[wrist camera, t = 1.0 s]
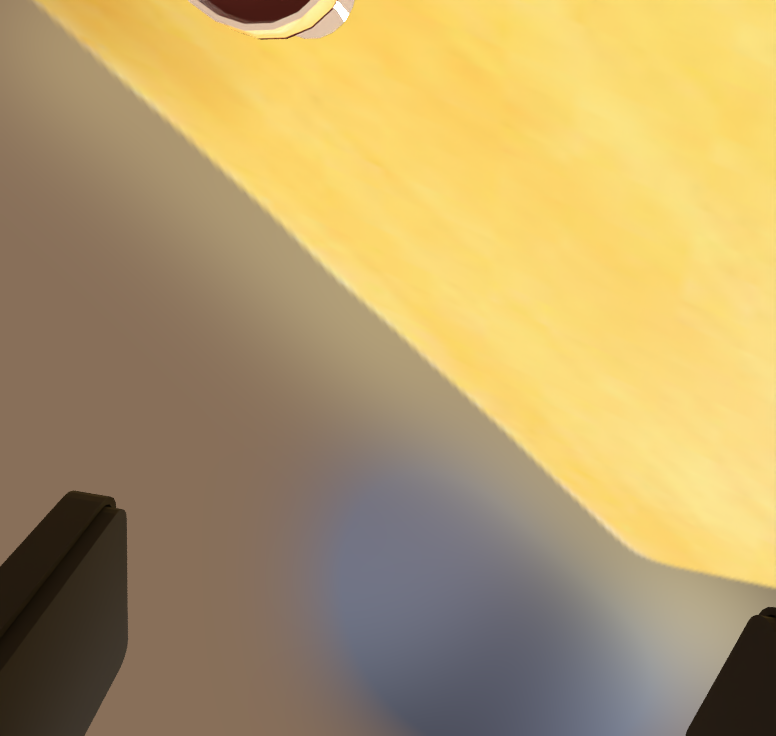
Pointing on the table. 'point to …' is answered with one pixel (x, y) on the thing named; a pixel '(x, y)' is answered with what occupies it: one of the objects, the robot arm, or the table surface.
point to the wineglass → (278, 16)
